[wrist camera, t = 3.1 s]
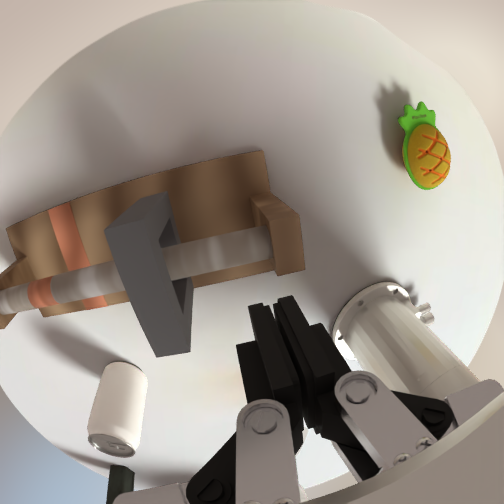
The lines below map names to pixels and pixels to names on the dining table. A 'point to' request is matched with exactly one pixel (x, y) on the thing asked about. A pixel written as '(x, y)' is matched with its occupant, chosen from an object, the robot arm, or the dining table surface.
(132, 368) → the can
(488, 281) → the dining table surface
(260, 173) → the rail
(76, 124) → the dining table surface
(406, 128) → the toy pineapple
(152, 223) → the collar
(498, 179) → the dining table surface
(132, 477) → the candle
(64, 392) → the dining table surface
